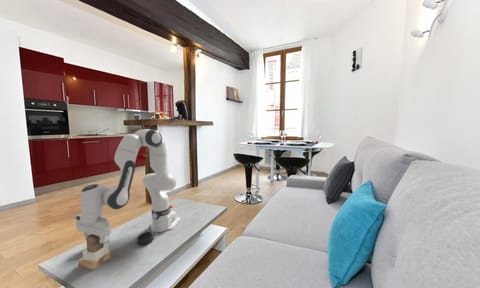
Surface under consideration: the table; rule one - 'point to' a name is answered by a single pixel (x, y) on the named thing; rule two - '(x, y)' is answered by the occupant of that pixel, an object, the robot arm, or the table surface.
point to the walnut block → (93, 243)
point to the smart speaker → (145, 238)
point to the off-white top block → (96, 253)
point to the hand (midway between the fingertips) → (94, 240)
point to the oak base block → (94, 262)
